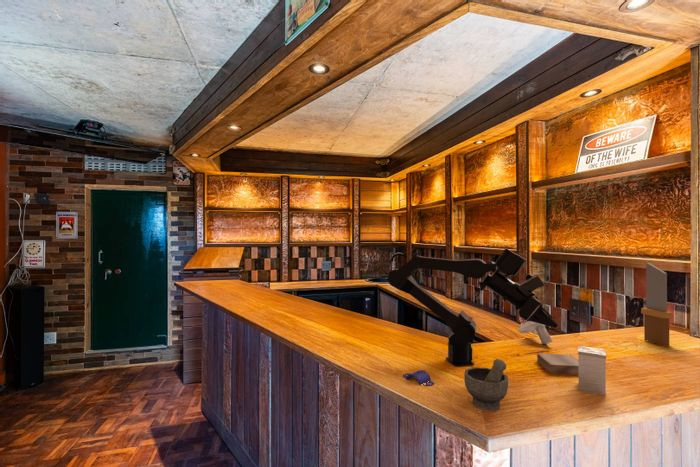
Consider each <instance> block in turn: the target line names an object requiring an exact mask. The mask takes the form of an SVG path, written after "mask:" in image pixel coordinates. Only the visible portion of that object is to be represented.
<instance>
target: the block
mask: <svg viewBox="0 0 700 467" xmlns="http://www.w3.org/2000/svg"><path fill="white" fill-rule="evenodd" d="M536 355H537V357H536V360H537V361H536V362H537V363H538V364H539V365H541V366H542V367H543V368H544V370H546V371H548V372H549V373H550V374H553V375H554V374H555V375H557V374H558V375H569V374H570V375H571V376H573V375H574V376H579V358H577V357H575V356H574V355H572V354H560V353H559V354H558V353H543V352H539V353H536Z"/></svg>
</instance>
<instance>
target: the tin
mask: <svg viewBox="0 0 700 467" xmlns="http://www.w3.org/2000/svg"><path fill="white" fill-rule="evenodd" d="M577 355H578V360H579V375H578V391H579V390H581V392H584V391H586V392H585V393H589V392H590V394H594V393H596V395H599V394H600V396H604V397H606V396H607V395H606V393H607V390H606V388H607V387H606V386H607V385H606V382H607V381H606V376H607V375H606V369H607V367H606V364H607V363H606V362H607V361H606V360H607V353H606V350H605V349H604V348H597V347H591V346H590V347H589V346H582V345H578V346H577Z"/></svg>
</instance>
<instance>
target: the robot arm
mask: <svg viewBox="0 0 700 467" xmlns="http://www.w3.org/2000/svg"><path fill="white" fill-rule="evenodd" d="M527 262H528V261H527V260H526V259H525V258H523V256H521V255H520V254H517V253H514V252H513V251H512V250H510V249H508V247H507V248H506V247H505V248H504V250H503V251H502V253H501V255H500V256H499V257H498V259H496V261H484V260H483V259H481V258H468V259H450V258H449V259H447V258H438V257H429V256H421V255H415V256H412V257H411V259H410V260H408V261H407V262H405V263H404V264H403V265H401V266H400V267H399V268H396V269H393V270H391V271H390V272H388V275H387V282H388V284H389V285H390V286H392V287H393V288H395V289H396V290H399V291H400V292H404V293H406V294H408V295H410V296H411V297H412V298H414V299H415V300H416V301H418V302H419V303H420V304H421V305H423V306H424V307H425V308H427V309H428V310H429V311H430V312H431V313H433V314H434V315H435V316H437V317H438V318H440V319H441V320H442V321H444V323H446V325H447V326H448V327H449V329H450V331H451V333H450V334H449V336H448V338H447V340H448V342H447V357H445V360H446V361H448V362H449V363H450V364H452V365H453V366H454V367H463V366H474V365H475V362H473V347H472V342H470V341H471V340H473V339H474V338H475V336H476V333H477V324H476V322H475V321H474V320H473V319H474V318H473V317H472V316H470V315H468V314H467V313H466V311H464V310H463V309H462V310H460V312H457V311H454V310H453V309H452V308H450V307H448V306H447V305H446V304H445V303H444V302H442V301H441V300H440V299H439V298H437V297H435V296H434V295H433V294H431V293H430V292H428V290H426V289H425V288H423V287H422V286H421V285H419V283H417V281H416V280H415V278H414V277H413V276H412V275H413V274H415V273H416V272H417V271H418V270H419V269H427V270H435V271H442V272H443V271H445V272H451V273H452V272H453V273H457V274H460V275H463V276H465V277H468V278H472V279H474V280H475V279H476V280H477V279H482V278H483V277H485V278H484V279H483V280H479V281H478V282H477V283H478V285H479V289H480V291H484V290H485V288H488V289H490V290H491V291H493V292H494V293H495V294H497V296H499V297H500V298H502V300H503V301H504V302H508V304H510V305H512V306H513V307H514V309H515V310H516V311H518V315H519V317H520V318H521V319H523V320H524V321H527V322H528V321H532V322H536V323H539V324H543V325H545V326H547V327H549V328H550V327H551V328H555V329H556V328H557V327H558V326H559V325H558V323H557V322H556V321H555V320H554V317H553V316H552V315H551V314H550V312H549V311H547V309H545V308H544V307H543V304H542V302H541V301H540V300H539V298H538V296H537V294H536V292H533V291H536V290H537V289H539V288H542V287H544V286H546V284H545V282H544V281H543V280H542V278H541V277H540V276H539V274H534V275H532V274H531V273H528V274H526V275H525V276H524V280H523V281H522V282H521V283H519V282H516V281H512V280H511V279H510V278H508V277H511V276H517V274H518V273H519V272H520V271H521V269H522V268H523V266H525V264H526V263H527ZM496 267H497V268H496ZM494 270H495V271H494ZM499 271H500V272H499ZM491 272H493V273H492V274H490V273H491ZM487 273H488V274H487ZM502 273H503V274H502ZM486 274H487V275H486ZM485 275H486V276H485ZM505 275H506V276H505Z"/></svg>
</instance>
